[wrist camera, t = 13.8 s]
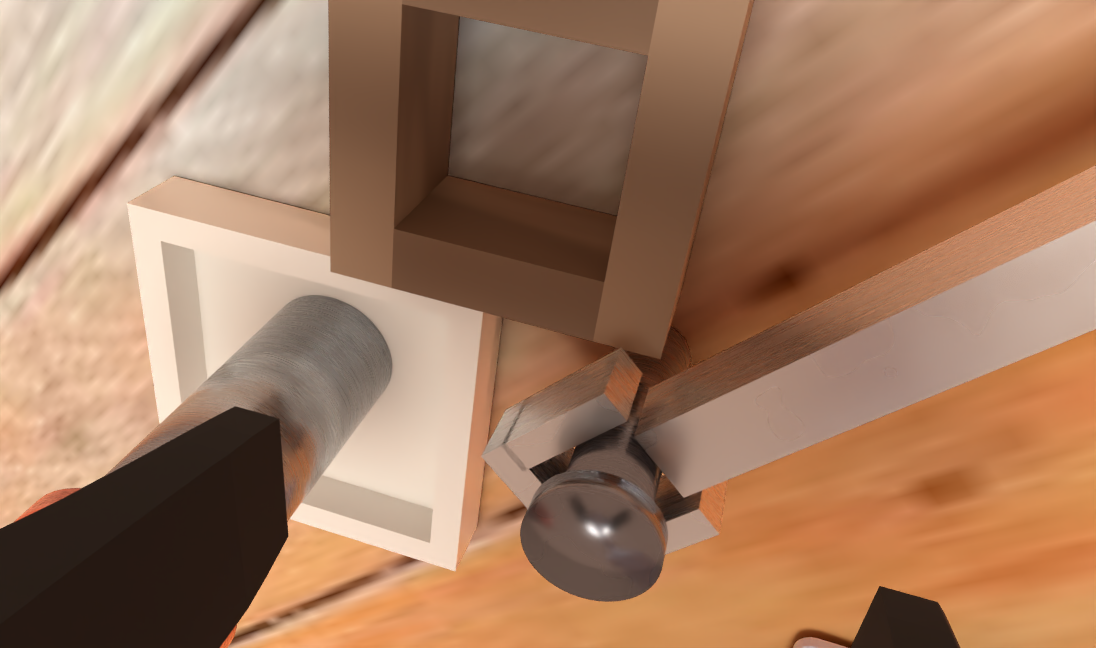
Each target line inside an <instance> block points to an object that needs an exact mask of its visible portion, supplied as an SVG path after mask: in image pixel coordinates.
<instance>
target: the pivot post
mask: <svg viewBox="0 0 1096 648" xmlns="http://www.w3.org/2000/svg"><path fill="white" fill-rule="evenodd" d="M617 349H619V348H616V347H615V348H614V350H613V352H614V351H615V350H617ZM624 351H625V352H626V353H627V355H628V356H629V357H630V358H631V360H632V361H633V362H634V363H635V365H636V366H637V367H638V368H639V370H640V371H641V372H642V373H643V374H642V377H641V380H640V383H639V386H638V389H637V392H636V395H635V398H634V401H633V404H632V407H631V410H630V414H629V417H628V420H627V422H625V423H623V424H621V425H618V426H616V427H614V428H612V429H610V430H608V431H606V432H604V433H602V434H600V435H598V436H596V437H594V438H592V439H589V440H587V441H585V442H583V443H581V444H579V445H577V446H576V447H575V450H574V452H573V455H572V457H571V460H570V463H569V465H568V468H567V470H566V472H563V473H560V474H558V475H555V476H553V477H551V478H549V479H548V480H547V481H545V482H544V483H543V484H542V485H541V486H540V487H539V488H538V489H537V491H536V492H535V494H534V496H533V498H532V500H531V502H530V505H529V507H528V509H527V512H526V514H525V517H524V519H523V521H522V525H521V532H520V536H521V543H522V547H523V550H524V552H525V554H526V556H527V558H528V560H529V561H530V563H531V564H532V566H533V567H534V568H535V569H536V570H537V571H538V572H539V573H540V574H541V575H542V576H543V577H544V578H545V579H546V580H548V581H549V582H550V583H552V584H553V585H555V586H556V587H558V588H560V589H562V590H564V591H566V592H568V593H570V594H573V595H575V596H578V597H582V598H585V599H590V600H595V601H621V600H626V599H630V598H633V597H636V596H638V595H640V594H642V593H644V592H645V591H647V590H648V589H649V588H651V586H652V585H653V584H654V583H655V582H656V580H657V579H658V577H659V575H660V573H661V570H662V565H663V561H664V556H665V552H666V547H667V542H668V529H667V524H666V521H665V518H664V516H663V514H662V512H661V510H660V509H659V507H658V506H657V504H656V503H655V499H656V495H657V491H658V487H659V482H660V478H661V474H662V471H661V469H660V468H659V467H658V466H657V465H656V463H655V462H654V461H653V460H652V459H651V457H650V456H649V455H648V454H647V452H646V451H645V450H644V449H643V448H642V446H641V445H640V444H639V443H638V442H637V440H636V439H635V438H634V435H635V432H636V429H637V425H638V422H639V419H640V416H641V412H642V409H643V406H644V403H645V399H646V396H647V393H648V389H649V388H651V387H653V386H655V385H657V384H659V383H661V382H663V381H665V380H667V379H669V378H671V377H673V376H675V375H677V374H679V373H681V372H683V371H685V370H687V369H688V366H689V361H690V351H689V347H688V345H687V342H686V341H685V339H684V338H683V337H682V335H681V334H680V333H679V332H678V331H676V330H675V329H674V328H672V327H670V329H669V333H668V336H667V339H666V343H665V346H664V349H663V353H662V356H661V359H657V358H653V357H649V356H646V355H642V354H638V353H634V352H631V351H627V350H624Z"/></svg>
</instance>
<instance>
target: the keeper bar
mask: <svg viewBox="0 0 1096 648" xmlns="http://www.w3.org/2000/svg"><path fill="white" fill-rule="evenodd" d="M1095 329H1096V165H1095V166H1093V167H1091V168H1089V169H1087V170H1085V171H1083V172H1081V173H1079V174H1077V175H1075V176H1073V177H1071V178H1069V179H1067V180H1065V181H1063V182H1061V183H1059V184H1057V185H1055V186H1053V187H1051V188H1049V189H1047V190H1045V191H1043V192H1041V193H1039V194H1037V195H1035V196H1033V197H1031V198H1029V199H1027V200H1025V201H1023V202H1021V203H1019V204H1017V205H1015V206H1013V207H1011V208H1009V209H1007V210H1005V211H1003V212H1001V213H999V214H997V215H995V216H993V217H991V218H989V219H987V220H985V221H983V222H981V223H979V224H977V225H975V226H973V227H971V228H969V229H967V230H965V231H963V232H961V233H959V234H957V235H955V236H953V237H951V238H949V239H947V240H945V241H943V242H941V243H939V244H937V245H935V246H933V247H931V248H929V249H927V250H925V251H923V252H921V253H919V254H917V255H915V256H913V257H911V258H909V259H907V260H905V261H903V262H901V263H899V264H897V265H895V266H893V267H891V268H889V269H887V270H885V271H883V272H881V273H879V274H877V275H875V276H873V277H871V278H869V279H867V280H865V281H863V282H861V283H859V284H857V285H855V286H853V287H851V288H849V289H847V290H845V291H843V292H841V293H839V294H837V295H835V296H833V297H831V298H829V299H827V300H825V301H823V302H821V303H819V304H817V305H815V306H813V307H811V308H809V309H807V310H805V311H803V312H801V313H799V314H797V315H795V316H793V317H791V318H789V319H787V320H785V321H783V322H781V323H779V324H777V325H775V326H773V327H771V328H769V329H767V330H765V331H763V332H761V333H759V334H757V335H755V336H753V337H751V338H749V339H747V340H745V341H743V342H741V343H739V344H737V345H735V346H733V347H731V348H729V349H727V350H725V351H723V352H721V353H719V354H717V355H715V356H713V357H711V358H709V359H707V360H705V361H703V362H701V363H699V364H697V365H695V366H693V367H691V368H689V369H687V370H685V371H683V372H681V373H679V374H677V375H675V376H673V377H671V378H669V379H667V380H665V381H663V382H661V383H659V384H657V385H655V386H653V387H651V388H649V389H648V393H647V396H646V399H645V403H644V406H643V409H642V412H641V416H640V419H639V422H638V425H637V429H636V432H635V435H634V438H635V439H636V440H637V442H638V443H639V444H640V445H641V446H642V448H643V449H644V450H645V451H646V452H647V454H648V455H649V456H650V457H651V459H652V460H653V461H654V462H655V463H656V465H657V466H658V467H659V468H660V469H661V471H662V472H663V473H664V474H665V475H664V476H661V478H660V482H659V487H658V491H657V495H656V499H655V503H656V504H657V506H658V507H659V509H660V510H661V512H662V514H663V516H664V518H665V521H666V524H667V529H668V542H667V547H666V552H665V555H666V554H668V553H671V552H674V551H676V550H679V549H682V548H685V547H687V546H690V545H693V544H695V543H698V542H701V541H703V540H706V539H709V538H711V537H714V536H717V535H719V534H720V529H721V522H722V515H723V509H724V502H725V495H726V489H727V482H728V480H729V479H731V478H733V477H736V476H738V475H741V474H743V473H746V472H748V471H751V470H753V469H755V468H758V467H760V466H763V465H765V464H768V463H770V462H773V461H775V460H777V459H780V458H782V457H785V456H787V455H790V454H792V453H794V452H797V451H799V450H802V449H804V448H807V447H809V446H812V445H814V444H816V443H819V442H821V441H824V440H826V439H829V438H831V437H834V436H836V435H838V434H841V433H843V432H846V431H848V430H851V429H853V428H856V427H858V426H860V425H863V424H865V423H868V422H870V421H873V420H875V419H878V418H880V417H882V416H885V415H887V414H890V413H892V412H895V411H897V410H900V409H902V408H904V407H907V406H909V405H912V404H914V403H917V402H919V401H921V400H924V399H926V398H929V397H931V396H934V395H936V394H939V393H941V392H943V391H946V390H948V389H951V388H953V387H956V386H958V385H961V384H963V383H965V382H968V381H970V380H973V379H975V378H978V377H980V376H983V375H985V374H987V373H990V372H992V371H995V370H997V369H1000V368H1002V367H1005V366H1007V365H1009V364H1012V363H1014V362H1017V361H1019V360H1022V359H1024V358H1027V357H1029V356H1031V355H1034V354H1036V353H1039V352H1041V351H1044V350H1046V349H1049V348H1051V347H1053V346H1056V345H1058V344H1061V343H1063V342H1066V341H1068V340H1070V339H1073V338H1075V337H1078V336H1080V335H1083V334H1085V333H1088V332H1090V331H1092V330H1095ZM642 374H643V373H642V372H641V371H640V370H639V368H638V367H637V366H636V365H635V363H634V362H633V361H632V360H631V358H630V357H629V356H628V355H627V353H626V352H625V351H624V350H623V348H622V347H621V348H619V349H617V350H615V351H614V352H612V353H610V354H608V355H606V356H604V357H603V358H601V359H599V360H597V361H595V362H593V363H591V364H590V365H588V366H586V367H584V368H582V369H580V370H578V371H577V372H575V373H573V374H571V375H569V376H567V377H565V378H564V379H562V380H560V381H558V382H556V383H554V384H553V385H551V386H549V387H547V388H545V389H543V390H541V391H540V392H538V393H536V394H534V395H532V396H530V397H528V398H527V399H525V400H523V401H521V402H519V403H517V404H515V405H514V406H512V407H510V408H508V409H506V410H505V412H504V414H503V416H502V418H501V420H500V422H499V423H498V425H497V427H496V429H495V431H494V433H493V435H492V437H491V439H490V440H489V442H488V444H487V446H486V448H485V450H484V452H483V454H482V456H481V457H482V458H483V459H484V460H485V462H486V463H487V464H488V465H489V466H490V467H491V468H492V469H493V471H494V472H495V473H496V474H497V475H498V476H499V477H500V478H501V479H502V481H503V482H504V483H505V484H506V485H507V486H508V487H509V488H510V490H511V491H512V492H513V493H514V494H515V495H516V496H517V497H518V499H519V500H520V501H521V502H522V503H523V504H524V505H525V506H526V507H527V509H528V507H529V505H530V502H531V500H532V498H533V496H534V494H535V492H536V491H537V489H538V488H539V487H540V486H541V485H542V484H543V483H544V482H545V481H547V480H548V479H549V478H551V477H553V476H555V475H558V474H560V473H563V472H566V470H567V468H568V465H569V463H570V460H571V457H572V455H573V452H574V450H575V449H574V448H573V447H575V446H577V445H579V444H581V443H583V442H585V441H587V440H589V439H592V438H594V437H596V436H598V435H600V434H602V433H604V432H606V431H608V430H610V429H612V428H614V427H616V426H618V425H621V424H623V423H625V422H627V420H628V417H629V414H630V410H631V407H632V404H633V401H634V398H635V395H636V392H637V389H638V386H639V383H640V380H641V377H642Z"/></svg>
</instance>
